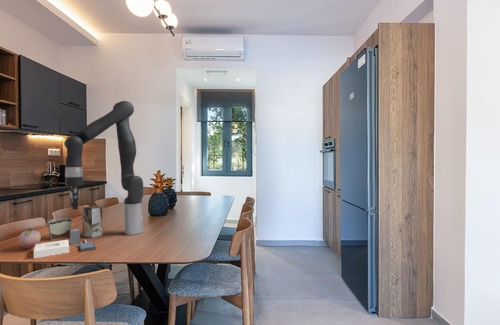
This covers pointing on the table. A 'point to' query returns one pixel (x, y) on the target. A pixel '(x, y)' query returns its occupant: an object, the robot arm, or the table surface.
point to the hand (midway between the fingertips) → (74, 208)
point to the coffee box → (92, 221)
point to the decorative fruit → (29, 238)
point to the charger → (74, 237)
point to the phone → (87, 246)
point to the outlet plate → (51, 248)
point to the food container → (59, 228)
